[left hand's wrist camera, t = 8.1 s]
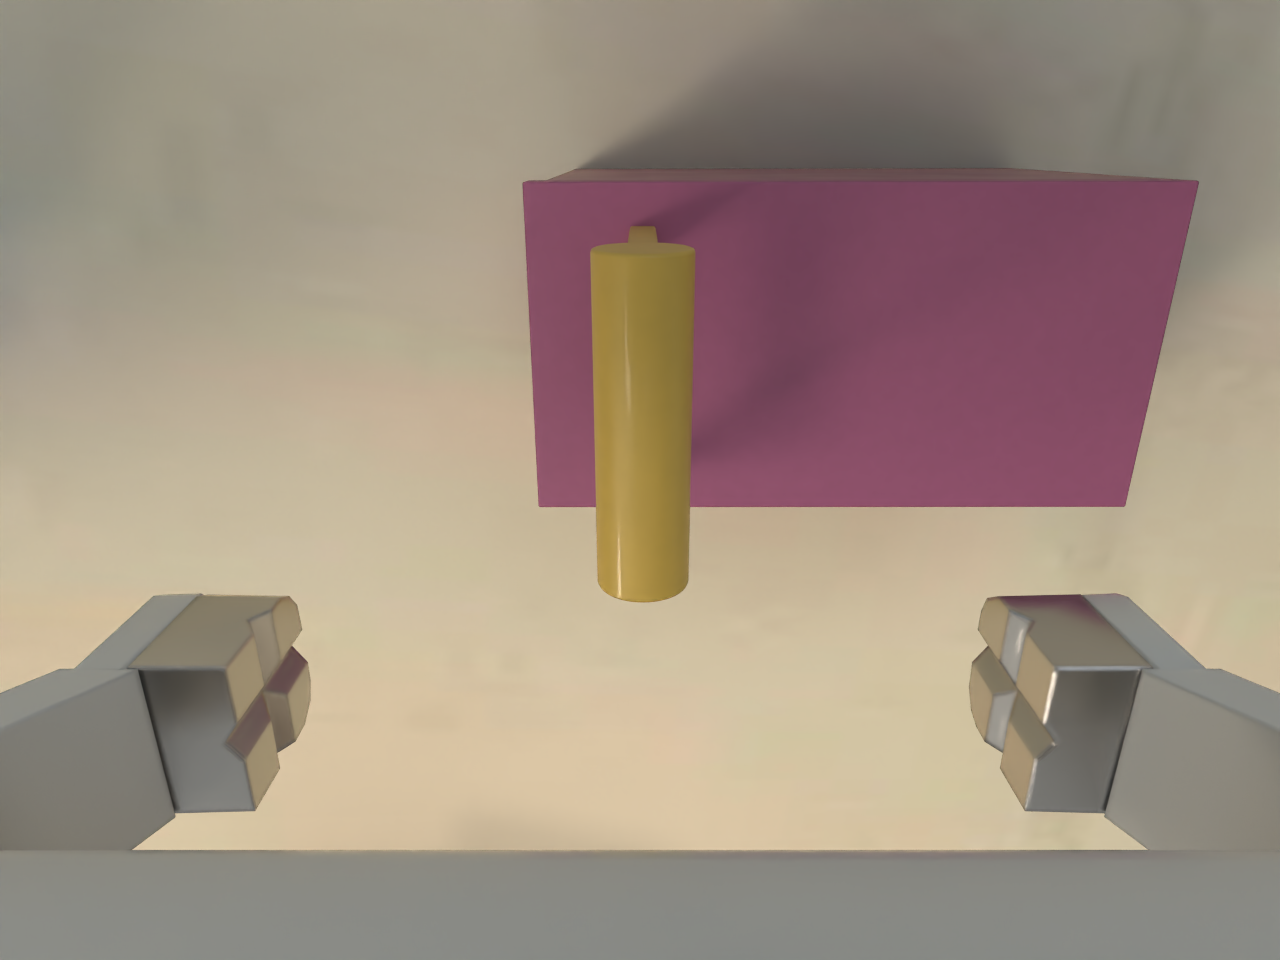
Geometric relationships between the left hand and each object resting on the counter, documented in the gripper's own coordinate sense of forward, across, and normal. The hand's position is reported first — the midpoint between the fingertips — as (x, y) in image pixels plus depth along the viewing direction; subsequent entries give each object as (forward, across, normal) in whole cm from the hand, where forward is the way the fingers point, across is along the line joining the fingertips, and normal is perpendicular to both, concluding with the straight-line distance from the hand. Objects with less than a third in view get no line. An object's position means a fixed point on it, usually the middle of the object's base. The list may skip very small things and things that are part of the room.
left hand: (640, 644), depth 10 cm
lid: (+16, -6, 0) cm, 17 cm away
